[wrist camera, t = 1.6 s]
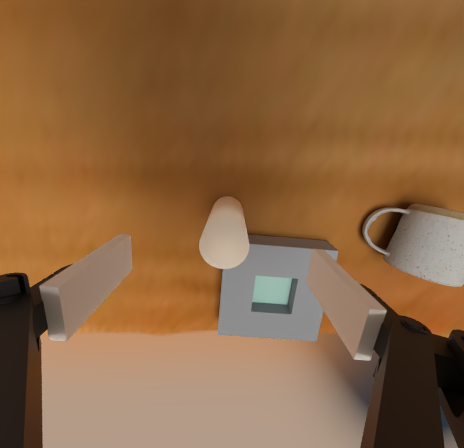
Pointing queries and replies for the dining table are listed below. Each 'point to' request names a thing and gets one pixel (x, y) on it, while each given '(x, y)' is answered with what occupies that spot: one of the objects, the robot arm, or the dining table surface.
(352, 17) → the dining table surface
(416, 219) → the ceramic mug
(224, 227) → the dowel pin
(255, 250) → the bore block
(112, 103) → the dining table surface
